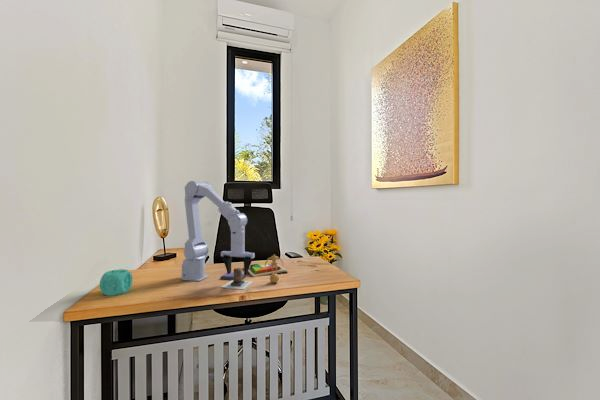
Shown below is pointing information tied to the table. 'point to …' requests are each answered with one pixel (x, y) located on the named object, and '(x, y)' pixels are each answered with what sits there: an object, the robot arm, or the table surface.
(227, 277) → the ink pad
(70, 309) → the table surface
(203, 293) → the table surface
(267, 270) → the wooden puzzle
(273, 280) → the figurine
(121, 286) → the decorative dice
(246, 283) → the card sheet
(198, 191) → the robot arm
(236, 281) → the stamp
